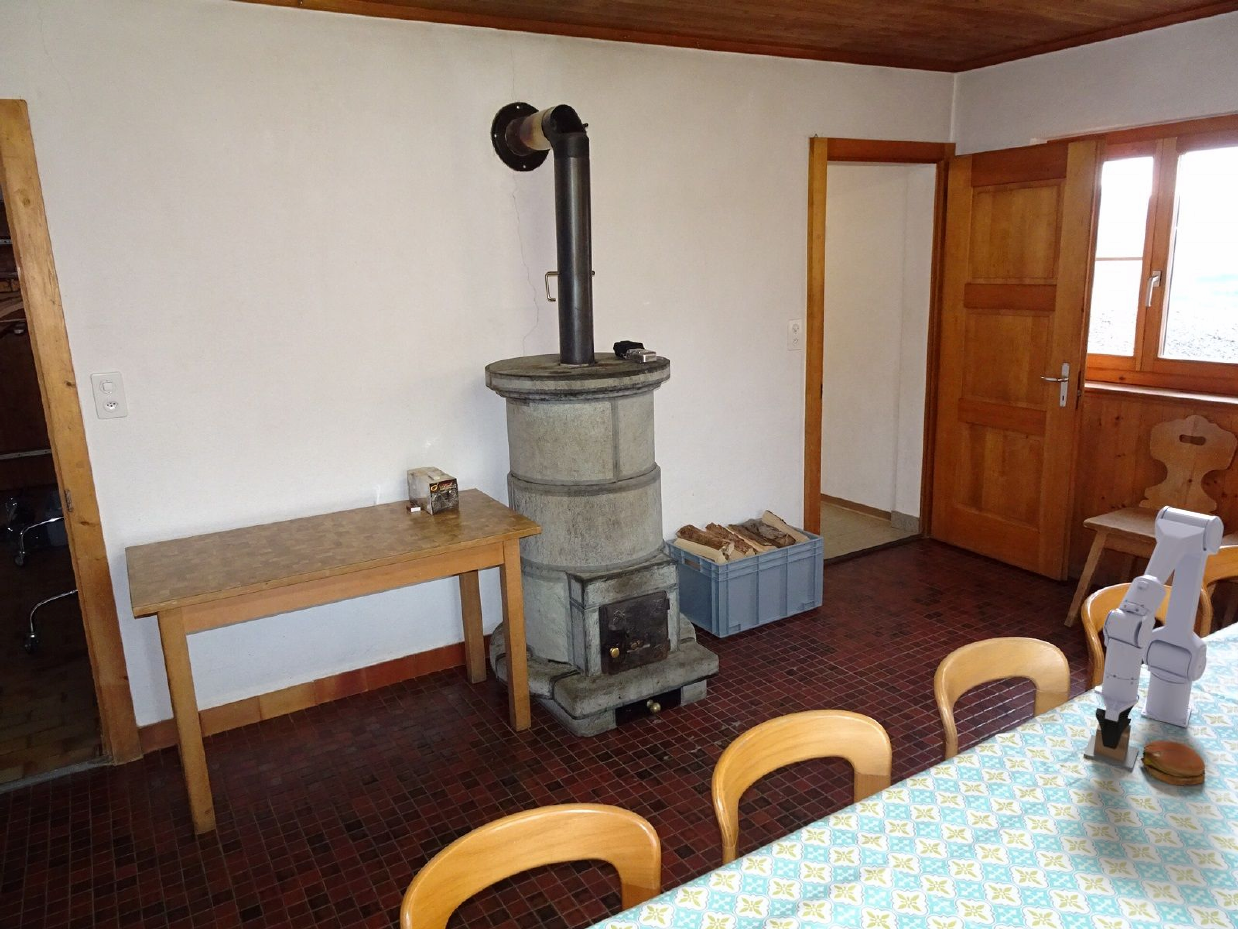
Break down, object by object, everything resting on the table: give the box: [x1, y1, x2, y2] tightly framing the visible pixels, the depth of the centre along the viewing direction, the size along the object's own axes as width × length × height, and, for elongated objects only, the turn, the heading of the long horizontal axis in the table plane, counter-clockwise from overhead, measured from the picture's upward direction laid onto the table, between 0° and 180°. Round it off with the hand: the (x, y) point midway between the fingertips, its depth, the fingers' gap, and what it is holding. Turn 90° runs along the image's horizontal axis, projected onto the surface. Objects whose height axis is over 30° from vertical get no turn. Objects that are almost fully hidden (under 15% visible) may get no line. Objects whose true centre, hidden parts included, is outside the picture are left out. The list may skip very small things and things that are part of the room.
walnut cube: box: [1094, 724, 1132, 761], centre depth 164 cm, size 5×5×5 cm
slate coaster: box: [1083, 734, 1140, 772], centre depth 165 cm, size 8×8×1 cm
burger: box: [1139, 739, 1206, 786], centre depth 158 cm, size 10×9×5 cm
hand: (1113, 737), depth 164 cm, fingers open, 7 cm apart
